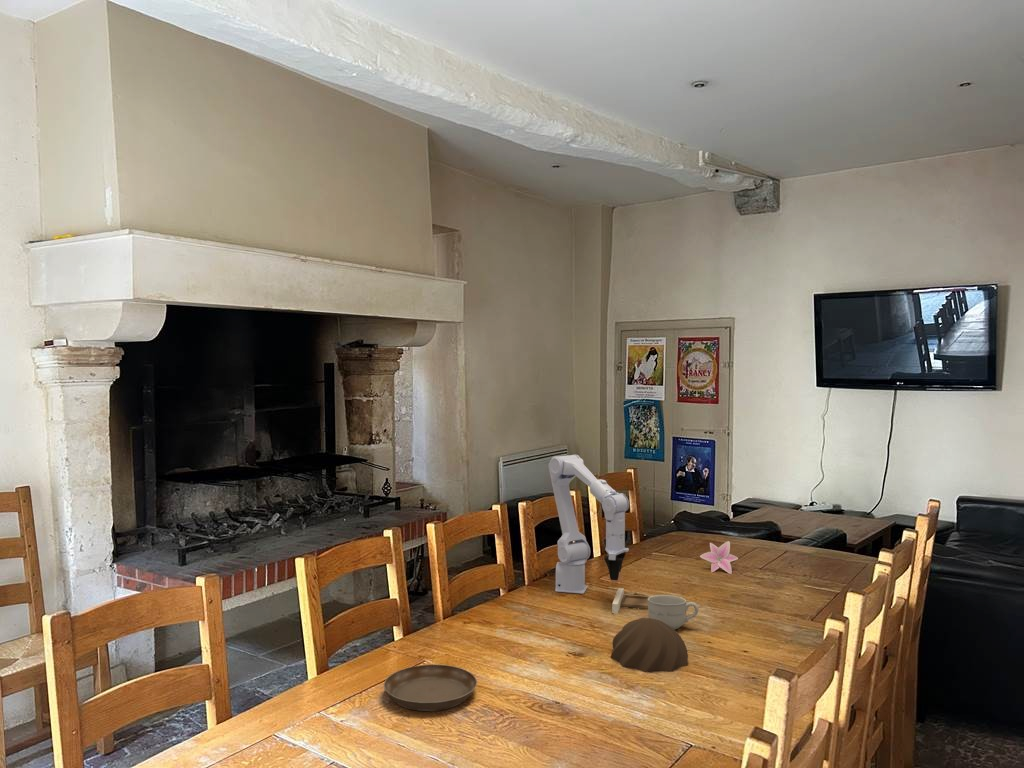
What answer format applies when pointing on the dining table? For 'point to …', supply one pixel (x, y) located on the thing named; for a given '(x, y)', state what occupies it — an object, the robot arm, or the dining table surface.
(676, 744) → the dining table surface
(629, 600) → the tray
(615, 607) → the strip
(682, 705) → the dining table surface
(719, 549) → the lily
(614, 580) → the ball
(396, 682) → the plant saucer
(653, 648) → the decorative dome
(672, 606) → the teacup
